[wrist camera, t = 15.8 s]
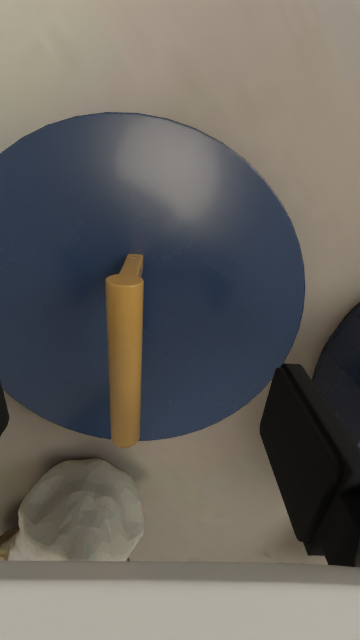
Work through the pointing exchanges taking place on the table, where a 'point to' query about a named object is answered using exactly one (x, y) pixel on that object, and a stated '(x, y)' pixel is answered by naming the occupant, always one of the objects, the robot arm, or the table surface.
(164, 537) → the table surface
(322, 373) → the tin
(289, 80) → the table surface
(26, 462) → the table surface
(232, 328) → the lid
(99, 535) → the ceramic sculpture
